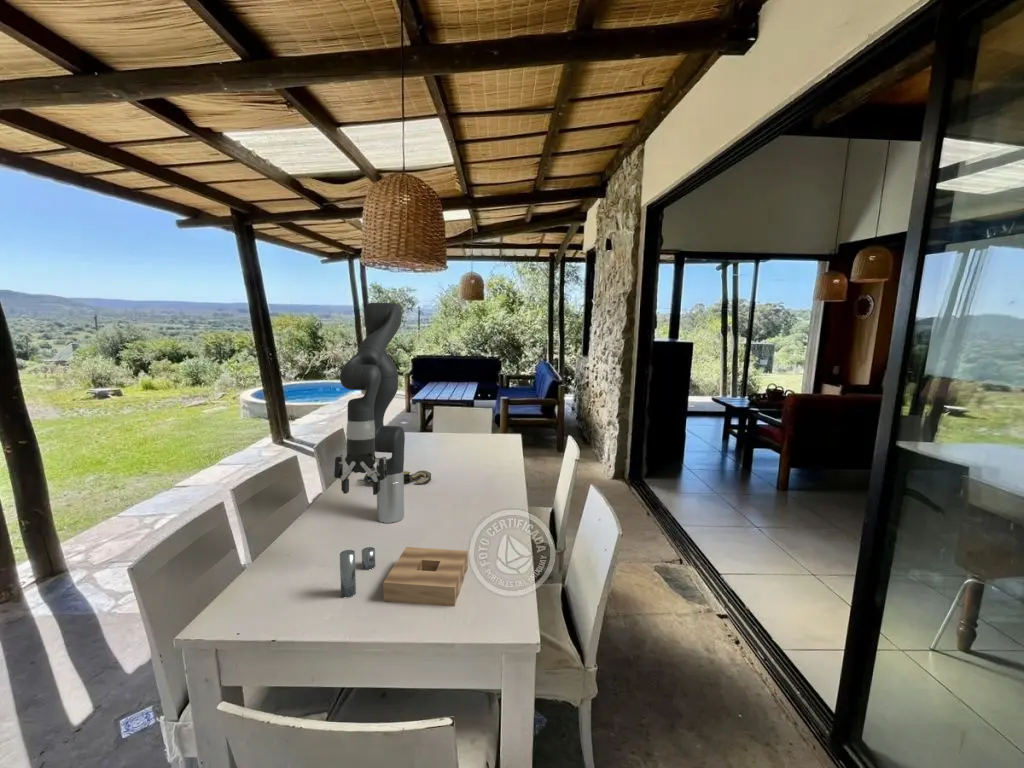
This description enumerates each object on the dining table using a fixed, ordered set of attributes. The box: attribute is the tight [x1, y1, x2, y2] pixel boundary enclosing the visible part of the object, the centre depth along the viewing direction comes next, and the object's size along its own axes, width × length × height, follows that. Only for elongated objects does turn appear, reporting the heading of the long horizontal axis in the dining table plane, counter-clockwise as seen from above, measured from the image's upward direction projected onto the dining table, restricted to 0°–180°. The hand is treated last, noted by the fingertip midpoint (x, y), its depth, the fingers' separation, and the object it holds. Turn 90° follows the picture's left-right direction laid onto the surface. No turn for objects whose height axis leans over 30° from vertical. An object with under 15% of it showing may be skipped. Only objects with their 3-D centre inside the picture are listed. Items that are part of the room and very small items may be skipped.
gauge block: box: [382, 546, 469, 607], centre depth 120 cm, size 18×18×5 cm
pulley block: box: [357, 470, 432, 485], centre depth 195 cm, size 14×6×30 cm
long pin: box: [339, 549, 357, 598], centre depth 114 cm, size 4×4×11 cm
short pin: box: [361, 546, 376, 571], centre depth 127 cm, size 4×4×5 cm
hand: (360, 493), depth 126 cm, fingers open, 8 cm apart
